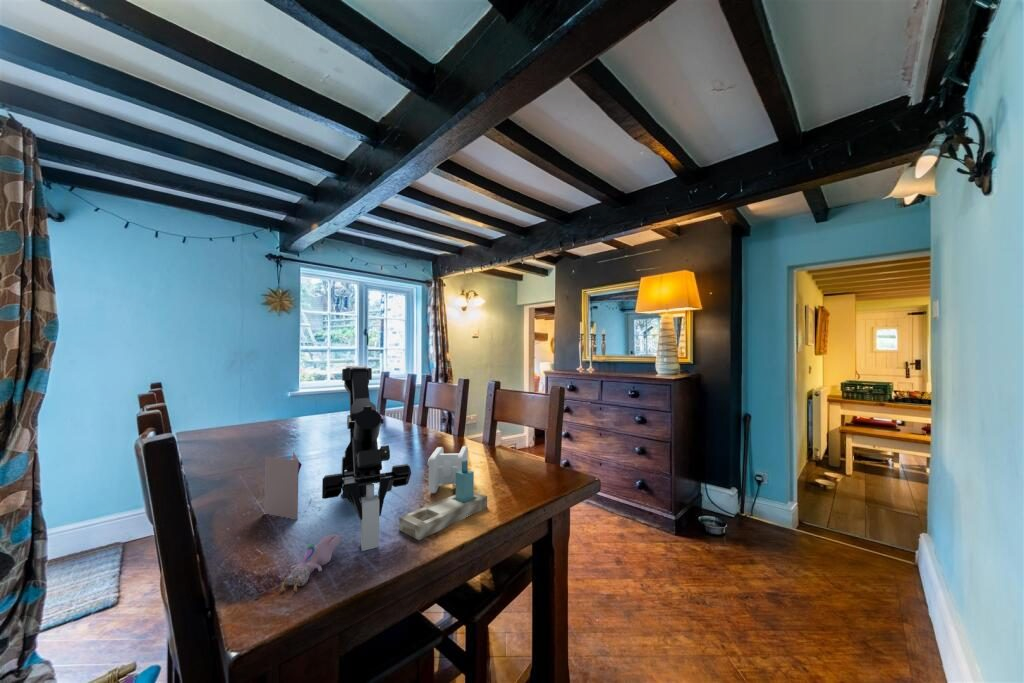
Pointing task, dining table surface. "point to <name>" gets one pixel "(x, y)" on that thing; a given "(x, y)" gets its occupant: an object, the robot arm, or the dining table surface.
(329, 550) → the pink horned figurine
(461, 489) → the teal plug
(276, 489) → the greeting card
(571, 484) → the dining table surface
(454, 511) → the slot rack
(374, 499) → the grey plug
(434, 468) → the cable organizer
